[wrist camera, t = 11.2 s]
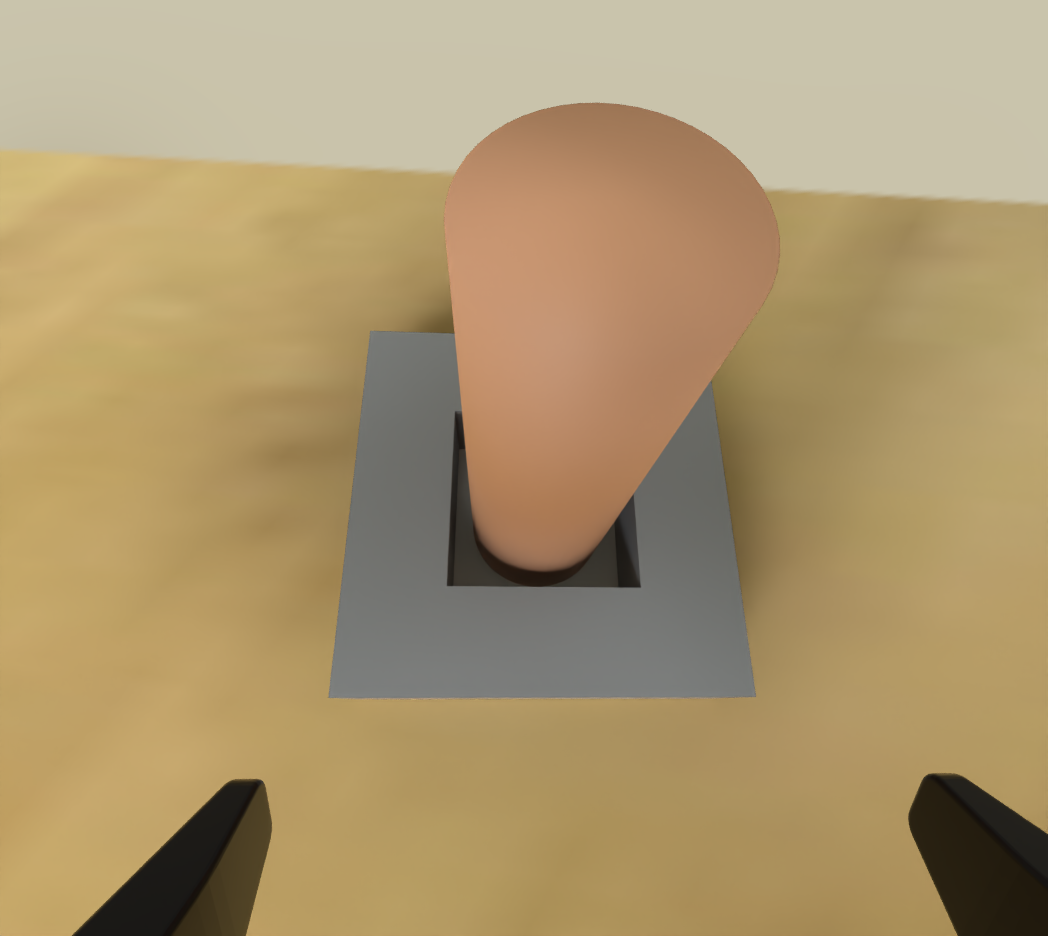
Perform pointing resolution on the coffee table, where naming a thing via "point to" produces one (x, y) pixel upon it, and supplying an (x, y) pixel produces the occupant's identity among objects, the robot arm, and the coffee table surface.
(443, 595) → the socket block
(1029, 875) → the robot arm
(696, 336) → the pin
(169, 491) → the coffee table surface
